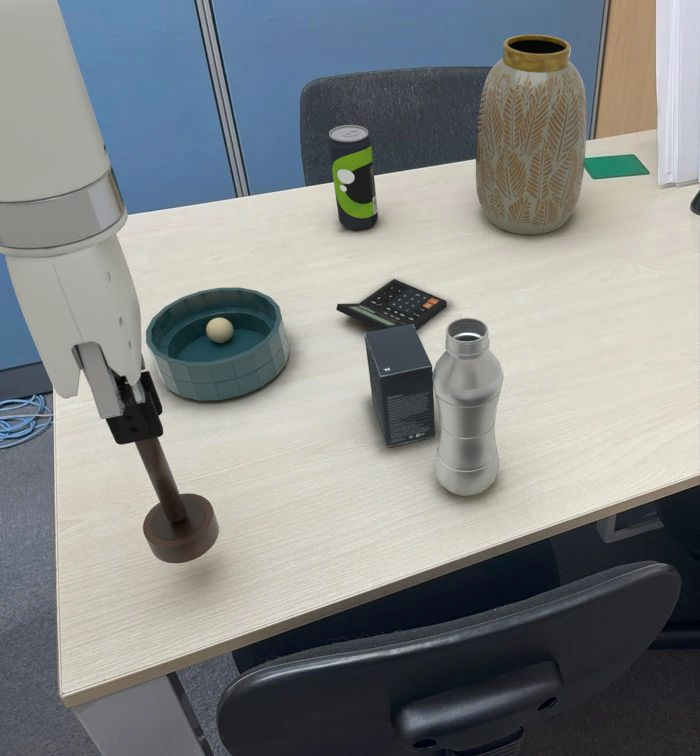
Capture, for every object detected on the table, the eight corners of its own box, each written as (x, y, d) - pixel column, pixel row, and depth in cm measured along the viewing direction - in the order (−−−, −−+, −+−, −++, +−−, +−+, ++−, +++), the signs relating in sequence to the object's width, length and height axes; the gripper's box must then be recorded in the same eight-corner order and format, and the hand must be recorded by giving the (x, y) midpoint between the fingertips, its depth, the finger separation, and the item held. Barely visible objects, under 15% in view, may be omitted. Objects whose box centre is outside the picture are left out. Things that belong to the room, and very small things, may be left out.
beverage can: (361, 209, 117) (351, 120, 107) (386, 222, 114) (378, 132, 104) (331, 223, 114) (318, 132, 104) (356, 236, 111) (345, 144, 101)
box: (436, 437, 79) (433, 365, 72) (386, 449, 77) (378, 377, 70) (418, 392, 84) (413, 321, 77) (371, 402, 83) (362, 331, 76)
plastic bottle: (429, 464, 76) (420, 314, 63) (489, 451, 77) (493, 303, 64) (443, 510, 71) (437, 359, 58) (506, 496, 73) (515, 346, 60)
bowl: (162, 417, 80) (146, 377, 76) (159, 338, 90) (145, 300, 86) (298, 387, 84) (289, 348, 80) (280, 315, 95) (272, 278, 91)
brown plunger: (151, 571, 59) (70, 405, 46) (150, 520, 63) (76, 354, 50) (221, 553, 60) (162, 388, 48) (216, 504, 64) (160, 339, 52)
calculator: (446, 306, 98) (446, 288, 96) (392, 349, 90) (390, 330, 88) (394, 283, 101) (392, 266, 99) (338, 323, 94) (335, 305, 92)
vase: (582, 243, 111) (603, 66, 94) (473, 240, 111) (474, 61, 93) (574, 192, 124) (591, 28, 106) (476, 189, 124) (478, 24, 106)
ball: (210, 350, 88) (204, 330, 86) (208, 335, 90) (202, 315, 88) (237, 345, 89) (231, 325, 87) (234, 330, 91) (229, 310, 89)
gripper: (-6, 154, 45) (90, 372, 57) (-52, 285, 34) (79, 520, 46) (122, 142, 47) (189, 354, 59) (118, 261, 36) (200, 492, 48)
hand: (140, 426), depth 53 cm, fingers closed on brown plunger
